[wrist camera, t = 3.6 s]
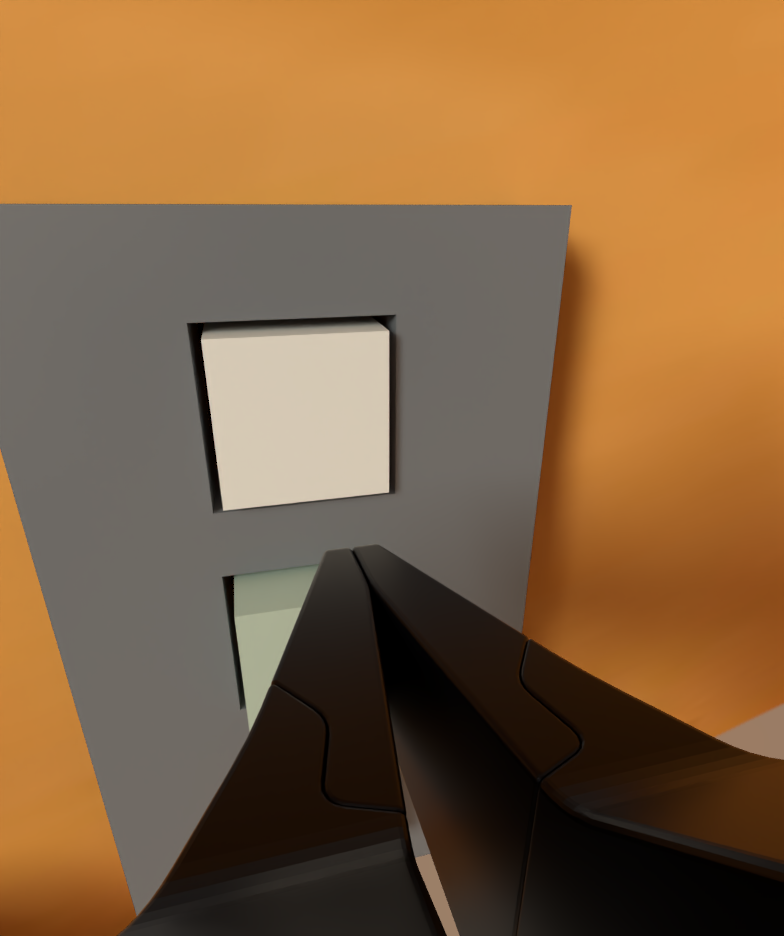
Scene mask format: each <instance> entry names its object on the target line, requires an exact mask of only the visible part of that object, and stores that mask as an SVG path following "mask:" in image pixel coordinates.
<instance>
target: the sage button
mask: <svg viewBox="0 0 784 936" xmlns="http://www.w3.org/2000/svg"><path fill="white" fill-rule="evenodd" d="M318 566H319V564H313V565H306V566H298V567H291V568H283V569H276V570H268V571H261V572H253V573H246V574H238V575H234V618H235V626H236V633H237V641H238V648H239V656H240V663H241V671H242V678H243V686H244V693H245V701H246V708H247V716H248V724H249V731H250V730H251V728H252V726H253V724H254V721H255V719H256V717H257V715H258V713H259V710H260V708H261V706H262V703H263V701H264V699H265V696H266V694H267V691H268V689H269V687H270V686H271V682H272V680H273V677H274V675H275V672H276V670H277V667H278V665H279V662H280V660H281V657H282V655H283V652H284V650H285V647H286V645H287V642H288V640H289V638H290V635H291V633H292V630H293V628H294V625H295V623H296V620H297V618H298V615H299V613H300V610H301V608H302V605H303V603H304V600H305V598H306V595H307V593H308V591H309V588H310V586H311V583H312V581H313V578H314V576H315V573H316V571H317V568H318Z"/></svg>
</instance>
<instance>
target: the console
mask: <svg viewBox="0 0 784 936" xmlns="http://www.w3.org/2000/svg"><path fill="white" fill-rule="evenodd" d="M571 207H572V205H248V204H0V449H1V453H2V456H3V459H4V463H5V466H6V470H7V473H8V477H9V480H10V483H11V487H12V490H13V494H14V497H15V501H16V504H17V507H18V511H19V514H20V518H21V521H22V525H23V528H24V531H25V535H26V538H27V542H28V545H29V548H30V552H31V555H32V559H33V562H34V566H35V569H36V572H37V576H38V579H39V583H40V586H41V590H42V593H43V596H44V600H45V603H46V607H47V610H48V614H49V617H50V620H51V624H52V627H53V631H54V634H55V638H56V641H57V644H58V648H59V651H60V655H61V658H62V661H63V665H64V668H65V672H66V675H67V679H68V682H69V685H70V689H71V692H72V696H73V699H74V703H75V706H76V709H77V713H78V716H79V720H80V723H81V727H82V730H83V733H84V737H85V740H86V744H87V747H88V751H89V754H90V757H91V761H92V764H93V768H94V771H95V774H96V778H97V781H98V785H99V788H100V792H101V795H102V798H103V802H104V805H105V809H106V812H107V816H108V819H109V822H110V826H111V829H112V833H113V836H114V840H115V843H116V846H117V850H118V853H119V857H120V860H121V864H122V867H123V870H124V874H125V877H126V881H127V884H128V888H129V891H130V894H131V898H132V901H133V905H134V908H135V911H136V915H137V916H138V914H139V913H140V912H141V911H142V910H143V908H144V907H145V906H146V905H147V904H148V902H149V901H150V900H151V898H152V897H153V896H154V894H155V893H156V891H157V890H158V889H159V887H160V886H161V884H162V883H163V881H164V879H165V878H166V876H167V875H168V873H169V871H170V870H171V868H172V866H173V865H174V863H175V861H176V860H177V858H178V856H179V855H180V853H181V851H182V850H183V848H184V846H185V844H186V843H187V841H188V839H189V838H190V836H191V834H192V833H193V831H194V829H195V828H196V826H197V824H198V822H199V821H200V819H201V817H202V816H203V814H204V812H205V811H206V809H207V807H208V806H209V804H210V802H211V800H212V799H213V797H214V795H215V794H216V792H217V790H218V789H219V787H220V785H221V784H222V782H223V780H224V778H225V777H226V775H227V773H228V772H229V770H230V768H231V766H232V764H233V762H234V761H235V759H236V757H237V755H238V753H239V752H240V750H241V748H242V746H243V744H244V742H245V741H246V739H247V737H248V735H249V732H250V731H249V724H248V716H247V708H246V701H245V693H244V686H243V678H242V671H241V663H240V656H239V648H238V641H237V633H236V626H235V618H234V603H233V596H232V588H231V580H230V576H231V575H238V574H246V573H253V572H261V571H268V570H276V569H283V568H291V567H298V566H306V565H313V564H319V563H320V561H321V558H322V556H323V554H324V552H325V551H326V550H332V549H339V548H350V549H351V550H352V549H353V548H354V547H356V546H363V545H370V544H378V545H380V546H382V547H384V548H385V549H387V550H389V551H390V552H392V553H393V554H395V555H397V556H398V557H400V558H401V559H403V560H405V561H406V562H408V563H409V564H411V565H413V566H414V567H416V568H417V569H419V570H421V571H422V572H424V573H426V574H427V575H429V576H430V577H432V578H434V579H435V580H437V581H438V582H440V583H442V584H443V585H445V586H446V587H448V588H450V589H451V590H453V591H454V592H456V593H458V594H459V595H461V596H463V597H464V598H466V599H467V600H469V601H471V602H472V603H474V604H475V605H477V606H479V607H480V608H482V609H483V610H485V611H487V612H488V613H490V614H491V615H493V616H495V617H496V618H498V619H500V620H501V621H503V622H504V623H506V624H508V625H509V626H511V627H512V628H514V629H516V630H517V631H519V632H520V633H522V628H523V619H524V611H525V602H526V594H527V585H528V576H529V568H530V559H531V551H532V542H533V533H534V525H535V516H536V508H537V499H538V490H539V482H540V473H541V465H542V456H543V447H544V439H545V430H546V422H547V413H548V405H549V396H550V387H551V379H552V370H553V362H554V353H555V344H556V336H557V327H558V319H559V310H560V301H561V293H562V284H563V276H564V267H565V258H566V250H567V241H568V233H569V224H570V216H571ZM349 316H371V317H373V318H374V319H375V320H376V321H378V322H379V323H380V324H381V325H383V326H384V327H385V328H386V329H388V330H389V492H388V493H379V494H370V495H361V496H352V497H343V498H334V499H325V500H315V501H306V502H297V503H288V504H279V505H270V506H261V507H252V508H242V509H233V510H224V511H223V504H222V497H221V489H220V481H219V474H218V469H216V467H215V459H214V452H213V444H212V437H211V429H210V421H209V414H208V406H207V399H206V391H205V384H204V376H203V368H202V361H201V353H200V346H199V338H198V330H197V323H201V322H225V321H250V320H275V319H300V318H324V317H349ZM399 770H400V767H399ZM400 776H401V782H402V788H403V794H404V801H405V807H406V813H407V815H406V817H407V820H408V826H409V831H410V837H411V842H412V847H413V851H414V855H415V857H419V856H423V855H427V854H430V851H429V848H428V845H427V842H426V840H425V837H424V834H423V831H422V828H421V826H420V823H419V820H418V817H417V814H416V812H415V809H414V806H413V803H412V800H411V798H410V795H409V792H408V789H407V786H406V784H405V781H404V778H403V775H402V772H401V770H400Z"/></svg>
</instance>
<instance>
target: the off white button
mask: <svg viewBox="0 0 784 936" xmlns="http://www.w3.org/2000/svg"><path fill="white" fill-rule="evenodd" d="M201 343H202V351H203V359H204V366H205V374H206V382H207V389H208V397H209V405H210V412H211V420H212V428H213V435H214V443H215V451H216V458H217V466H218V474H219V481H220V489H221V497H222V504H223V511H224V510H233V509H242V508H252V507H261V506H270V505H279V504H288V503H297V502H306V501H315V500H325V499H334V498H343V497H352V496H361V495H370V494H379V493H388V492H389V330H388V329H386V328H385V327H384V326H383V325H381V324H380V323H379V322H378V321H376V320H375V319H374V318H373V317H371V316H349V317H324V318H300V319H275V320H250V321H225V322H205V324H204V328H203V333H202V337H201Z"/></svg>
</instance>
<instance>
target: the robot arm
mask: <svg viewBox="0 0 784 936" xmlns="http://www.w3.org/2000/svg"><path fill="white" fill-rule="evenodd" d="M399 767H400V770H401V772H402V775H403V778H404V781H405V784H406V786H407V789H408V792H409V795H410V798H411V800H412V803H413V806H414V809H415V812H416V814H417V817H418V820H419V823H420V826H421V828H422V831H423V834H424V837H425V840H426V842H427V845H428V848H429V851H430V854H431V856H432V859H433V862H434V865H435V867H436V870H437V873H438V876H439V879H440V882H441V884H442V887H443V890H444V893H445V896H446V898H447V901H448V904H449V907H450V910H451V912H452V915H453V918H454V921H455V923H456V927H457V929H458V932H459V935H460V936H784V760H781V759H775V758H769V757H765V756H761V755H757V754H754V753H750V752H747V751H744V750H742V749H739V748H736V747H733V746H731V745H729V744H727V743H725V742H723V741H720V740H718V739H716V738H714V737H712V736H710V735H708V734H706V733H704V732H702V731H700V730H698V729H696V728H694V727H692V726H690V725H688V724H686V723H684V722H682V721H681V720H679V719H677V718H675V717H673V716H671V715H669V714H667V713H665V712H663V711H661V710H659V709H657V708H655V707H653V706H651V705H649V704H647V703H645V702H643V701H641V700H639V699H637V698H635V697H633V696H631V695H629V694H627V693H625V692H623V691H621V690H619V689H618V688H616V687H614V686H612V685H610V684H608V683H606V682H604V681H602V680H601V679H599V678H597V677H595V676H593V675H591V674H589V673H587V672H586V671H584V670H582V669H580V668H579V667H577V666H575V665H573V664H572V663H570V662H568V661H567V660H565V659H563V658H562V657H560V656H558V655H556V654H555V653H553V652H551V651H550V650H548V649H547V648H545V647H543V646H542V645H540V644H539V643H537V642H535V641H534V640H532V639H530V640H528V638H527V636H525V635H524V634H522V633H520V632H519V631H517V630H516V629H514V628H512V627H511V626H509V625H508V624H506V623H504V622H503V621H501V620H500V619H498V618H496V617H495V616H493V615H491V614H490V613H488V612H487V611H485V610H483V609H482V608H480V607H479V606H477V605H475V604H474V603H472V602H471V601H469V600H467V599H466V598H464V597H463V596H461V595H459V594H458V593H456V592H454V591H453V590H451V589H450V588H448V587H446V586H445V585H443V584H442V583H440V582H438V581H437V580H435V579H434V578H432V577H430V576H429V575H427V574H426V573H424V572H422V571H421V570H419V569H417V568H416V567H414V566H413V565H411V564H409V563H408V562H406V561H405V560H403V559H401V558H400V557H398V556H397V555H395V554H393V553H392V552H390V551H389V550H387V549H385V548H384V547H382V546H380V545H378V544H370V545H363V546H356V547H354V548H353V549H352V550H351V549H350V548H339V549H332V550H326V551H325V552H324V554H323V556H322V558H321V561H320V563H319V566H318V568H317V571H316V573H315V576H314V578H313V581H312V583H311V586H310V588H309V591H308V593H307V595H306V598H305V600H304V603H303V605H302V608H301V610H300V613H299V615H298V618H297V620H296V623H295V625H294V628H293V630H292V633H291V635H290V638H289V640H288V642H287V645H286V647H285V650H284V652H283V655H282V657H281V660H280V662H279V665H278V667H277V670H276V672H275V675H274V677H273V680H272V682H271V686H270V687H269V689H268V691H267V694H266V696H265V699H264V701H263V703H262V706H261V708H260V710H259V713H258V715H257V717H256V719H255V721H254V724H253V726H252V728H251V730H250V732H249V735H248V737H247V739H246V741H245V742H244V744H243V746H242V748H241V750H240V752H239V753H238V755H237V757H236V759H235V761H234V762H233V764H232V766H231V768H230V770H229V772H228V773H227V775H226V777H225V778H224V780H223V782H222V784H221V785H220V787H219V789H218V790H217V792H216V794H215V795H214V797H213V799H212V800H211V802H210V804H209V806H208V807H207V809H206V811H205V812H204V814H203V816H202V817H201V819H200V821H199V822H198V824H197V826H196V828H195V829H194V831H193V833H192V834H191V836H190V838H189V839H188V841H187V843H186V844H185V846H184V848H183V850H182V851H181V853H180V855H179V856H178V858H177V860H176V861H175V863H174V865H173V866H172V868H171V870H170V871H169V873H168V875H167V876H166V878H165V879H164V881H163V883H162V884H161V886H160V887H159V889H158V890H157V891H156V893H155V894H154V896H153V897H152V898H151V900H150V901H149V902H148V904H147V905H146V906H145V907H144V908H143V910H142V911H141V912H140V913H139V914H138V916H137V917H136V918H135V919H134V920H133V921H132V922H131V923H130V924H129V925H128V926H127V927H126V928H125V929H124V930H123V931H122V932H121V933H119V934H118V935H117V936H447V935H446V933H445V931H444V928H443V926H442V923H441V921H440V918H439V916H438V914H437V911H436V910H435V907H434V905H433V902H432V900H431V897H430V895H429V892H428V890H427V888H426V885H425V883H424V881H423V878H422V876H421V874H420V871H419V869H418V866H417V863H416V860H415V855H414V851H413V847H412V842H411V837H410V831H409V826H408V820H407V817H406V815H407V813H406V807H405V801H404V794H403V788H402V782H401V776H400V770H399Z"/></svg>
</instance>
